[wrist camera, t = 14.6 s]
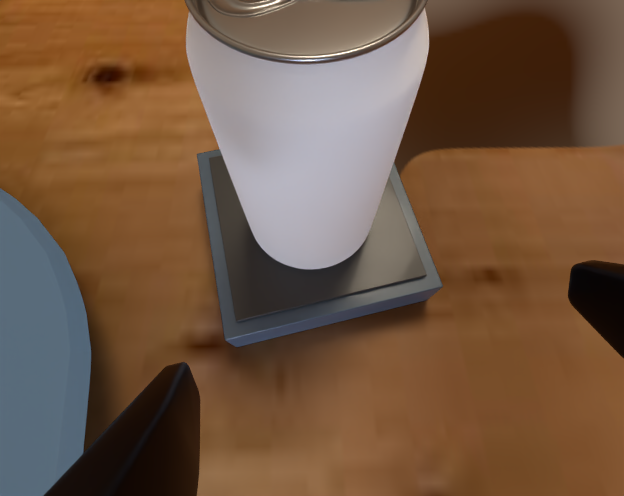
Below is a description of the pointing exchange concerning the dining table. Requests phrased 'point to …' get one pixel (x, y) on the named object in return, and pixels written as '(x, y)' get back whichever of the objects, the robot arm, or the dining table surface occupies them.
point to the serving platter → (39, 356)
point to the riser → (310, 282)
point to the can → (308, 111)
